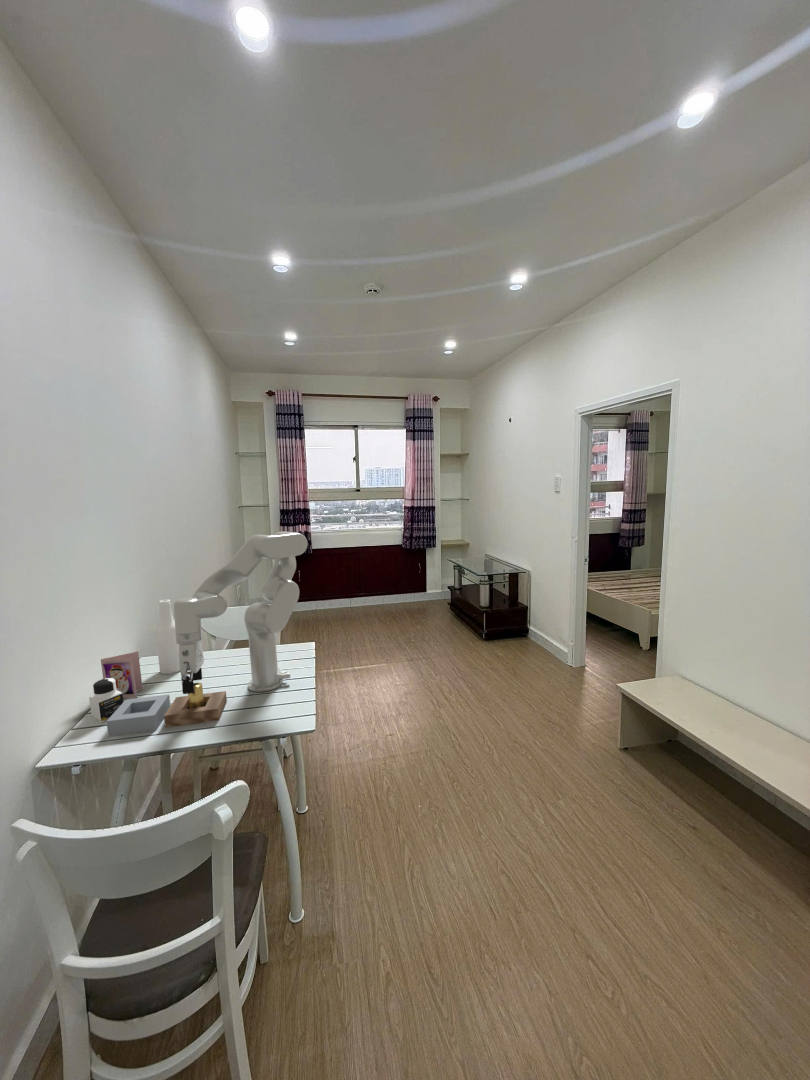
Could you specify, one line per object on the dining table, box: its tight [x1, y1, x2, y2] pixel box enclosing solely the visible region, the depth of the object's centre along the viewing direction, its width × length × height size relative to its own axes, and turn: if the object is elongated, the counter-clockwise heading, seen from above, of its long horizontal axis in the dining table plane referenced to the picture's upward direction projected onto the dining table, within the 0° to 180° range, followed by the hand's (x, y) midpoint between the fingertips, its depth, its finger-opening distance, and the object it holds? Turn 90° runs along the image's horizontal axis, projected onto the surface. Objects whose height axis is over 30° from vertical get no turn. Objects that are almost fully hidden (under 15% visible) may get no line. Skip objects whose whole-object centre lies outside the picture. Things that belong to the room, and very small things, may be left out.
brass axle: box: [187, 682, 204, 709], centre depth 139 cm, size 4×4×10 cm
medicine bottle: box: [88, 678, 124, 722], centre depth 140 cm, size 7×7×12 cm
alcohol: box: [155, 598, 180, 675], centre depth 172 cm, size 9×9×30 cm
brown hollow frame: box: [163, 690, 228, 728], centre depth 139 cm, size 16×12×4 cm
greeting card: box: [100, 651, 143, 699], centre depth 153 cm, size 11×7×15 cm, turn 90°
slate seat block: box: [105, 693, 171, 737], centre depth 135 cm, size 13×13×5 cm
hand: (192, 686), depth 137 cm, fingers open, 9 cm apart
